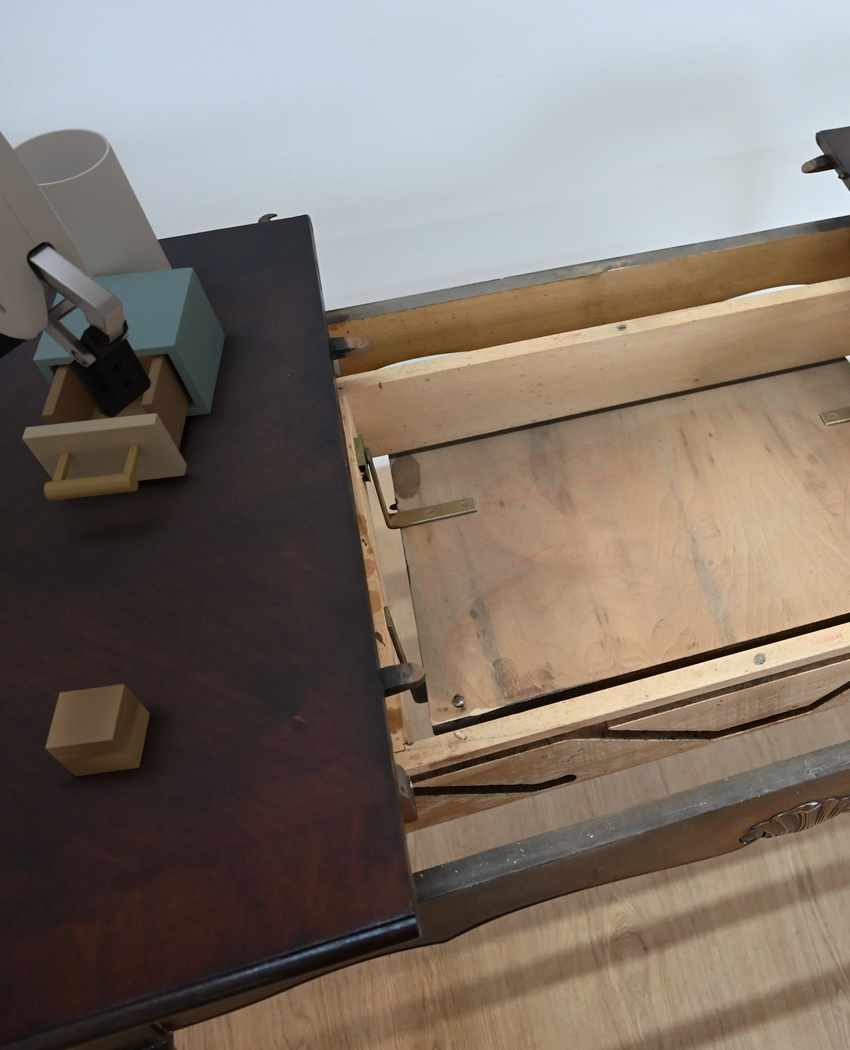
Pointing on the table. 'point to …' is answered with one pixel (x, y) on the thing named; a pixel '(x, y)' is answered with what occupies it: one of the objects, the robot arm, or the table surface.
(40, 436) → the drawer
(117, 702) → the block
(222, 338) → the cabinet
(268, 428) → the table surface
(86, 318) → the robot arm
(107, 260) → the cup
